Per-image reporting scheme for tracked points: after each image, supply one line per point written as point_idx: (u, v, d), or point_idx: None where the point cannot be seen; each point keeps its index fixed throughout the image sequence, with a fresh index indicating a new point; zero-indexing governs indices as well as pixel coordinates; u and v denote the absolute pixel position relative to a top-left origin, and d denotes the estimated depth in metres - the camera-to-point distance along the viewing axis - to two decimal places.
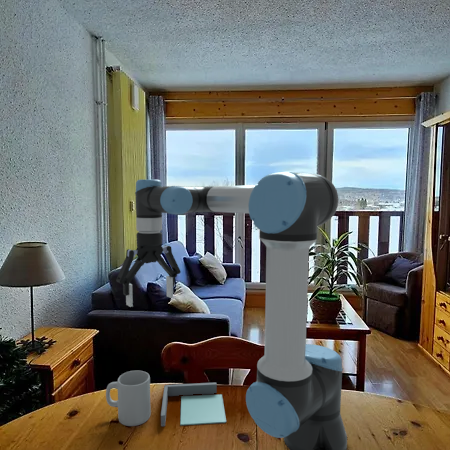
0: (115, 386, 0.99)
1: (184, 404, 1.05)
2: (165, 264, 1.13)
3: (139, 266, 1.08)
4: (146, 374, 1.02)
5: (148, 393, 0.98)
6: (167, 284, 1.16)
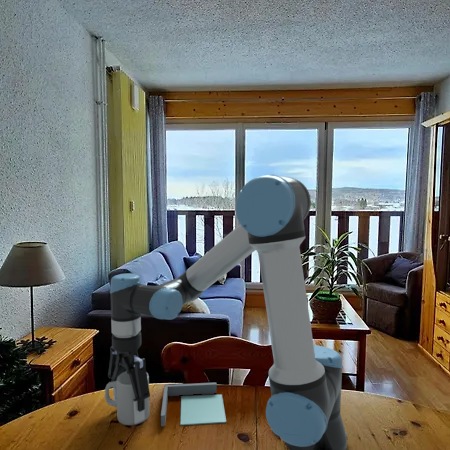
0: (114, 385, 0.99)
1: (184, 404, 1.05)
2: (131, 378, 0.95)
3: (117, 367, 1.00)
4: None
5: None
6: None
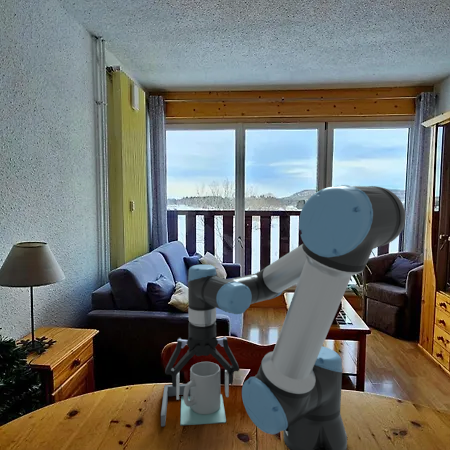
0: (194, 384, 0.99)
1: (184, 404, 1.05)
2: (219, 359, 1.01)
3: (187, 358, 1.00)
4: (204, 363, 1.07)
5: None
6: (225, 380, 1.04)
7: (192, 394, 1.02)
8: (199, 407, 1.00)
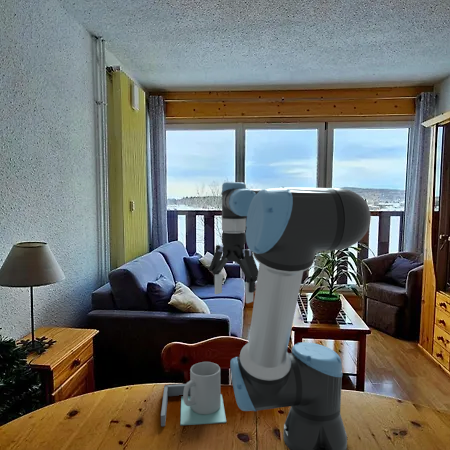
0: (194, 383, 1.00)
1: (184, 404, 1.05)
2: (242, 266, 1.13)
3: (221, 261, 1.19)
4: (205, 363, 1.07)
5: None
6: None
7: (192, 394, 1.02)
8: (199, 407, 1.00)
